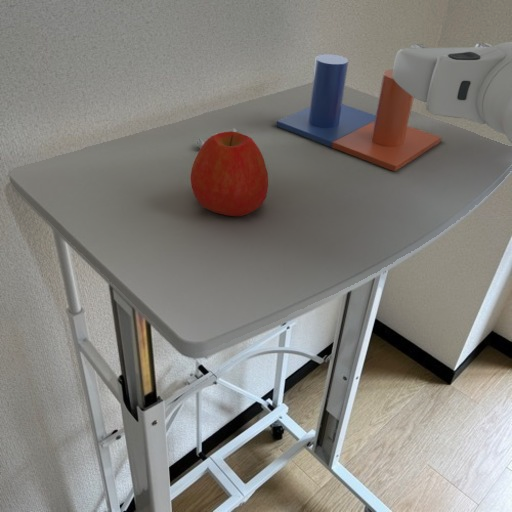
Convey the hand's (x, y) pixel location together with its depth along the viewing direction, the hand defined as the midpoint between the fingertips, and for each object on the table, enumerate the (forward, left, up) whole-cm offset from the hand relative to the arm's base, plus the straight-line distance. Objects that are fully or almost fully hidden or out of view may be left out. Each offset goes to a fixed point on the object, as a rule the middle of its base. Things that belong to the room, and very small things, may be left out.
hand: (447, 49), depth 74 cm
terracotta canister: (+9, -7, -18) cm, 21 cm away
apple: (+14, +27, -19) cm, 36 cm away
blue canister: (+21, -5, -18) cm, 28 cm away
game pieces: (+29, +14, -19) cm, 38 cm away
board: (+15, -7, -19) cm, 25 cm away
